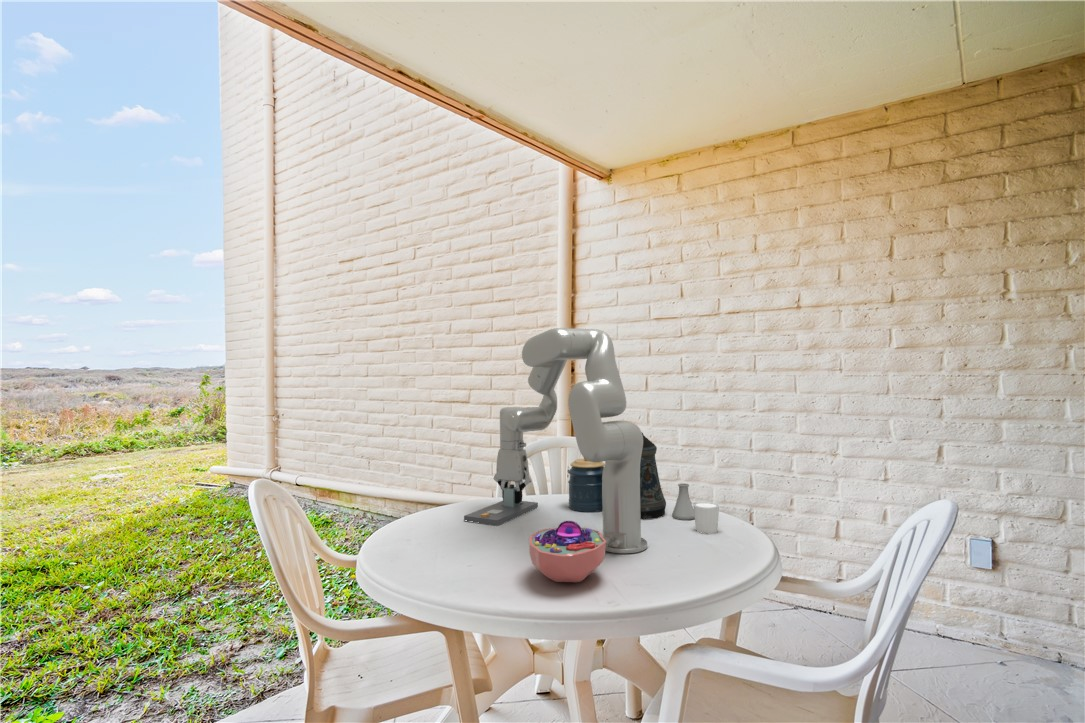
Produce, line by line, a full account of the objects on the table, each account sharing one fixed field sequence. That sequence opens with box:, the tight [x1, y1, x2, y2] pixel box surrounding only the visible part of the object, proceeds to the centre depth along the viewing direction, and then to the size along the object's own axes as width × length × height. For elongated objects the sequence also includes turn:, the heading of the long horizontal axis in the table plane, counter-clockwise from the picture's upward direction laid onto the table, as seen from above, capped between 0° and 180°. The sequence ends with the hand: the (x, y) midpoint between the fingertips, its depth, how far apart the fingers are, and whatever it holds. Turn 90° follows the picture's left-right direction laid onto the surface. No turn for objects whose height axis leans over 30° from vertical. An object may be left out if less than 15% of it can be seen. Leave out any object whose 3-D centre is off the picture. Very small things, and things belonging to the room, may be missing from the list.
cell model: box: [528, 520, 606, 583], centre depth 119 cm, size 17×20×11 cm
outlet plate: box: [463, 500, 539, 527], centre depth 174 cm, size 24×12×2 cm, turn 151°
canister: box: [567, 457, 605, 513], centre depth 180 cm, size 13×13×18 cm
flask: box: [671, 482, 695, 521], centre depth 166 cm, size 7×7×10 cm
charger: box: [503, 483, 520, 508], centre depth 179 cm, size 4×4×8 cm
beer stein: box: [604, 432, 667, 520], centre depth 171 cm, size 16×19×25 cm
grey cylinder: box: [692, 502, 720, 534], centre depth 152 cm, size 7×7×7 cm
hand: (512, 501), depth 179 cm, fingers open, 3 cm apart
